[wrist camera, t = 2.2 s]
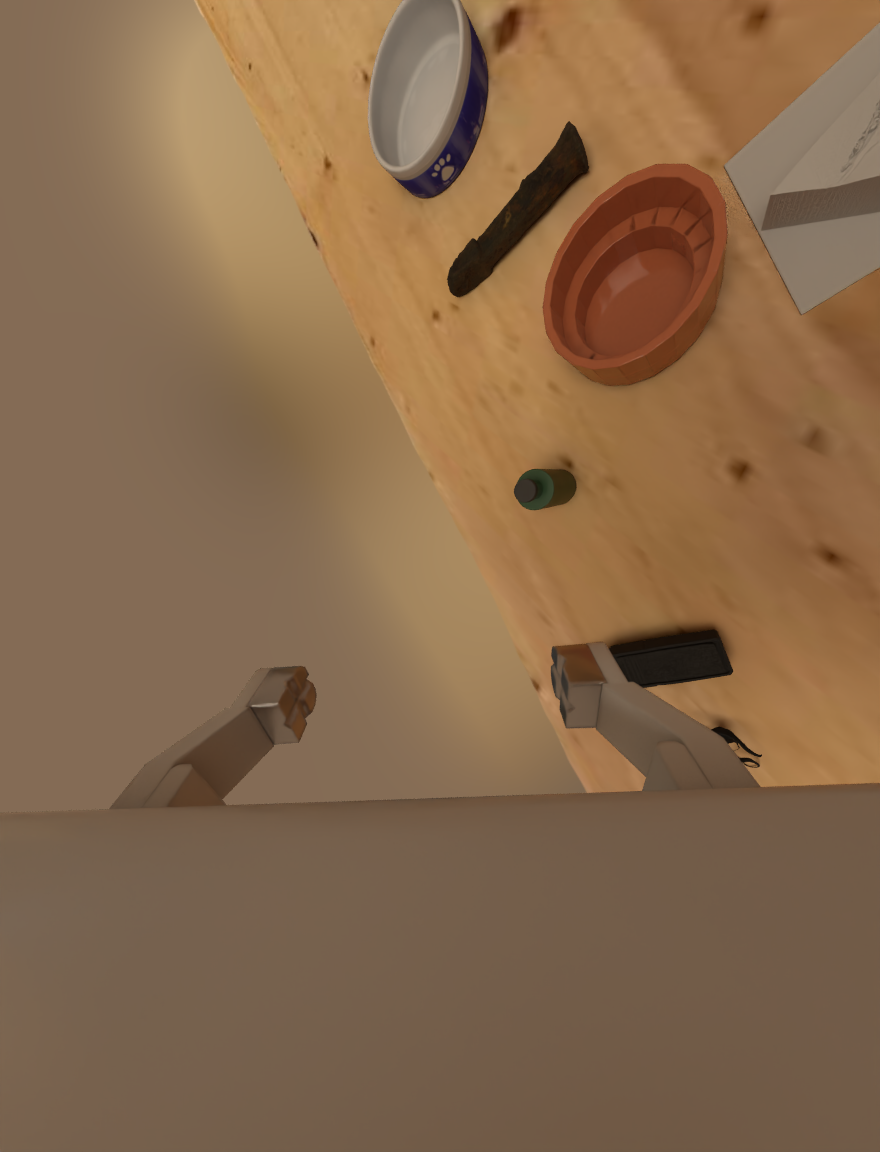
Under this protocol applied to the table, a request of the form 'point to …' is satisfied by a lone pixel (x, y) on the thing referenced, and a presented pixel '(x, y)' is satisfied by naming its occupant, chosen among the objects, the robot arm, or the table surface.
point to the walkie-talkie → (673, 659)
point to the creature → (729, 739)
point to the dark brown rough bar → (520, 211)
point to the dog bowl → (427, 95)
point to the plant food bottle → (544, 488)
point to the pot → (638, 274)
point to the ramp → (820, 179)
